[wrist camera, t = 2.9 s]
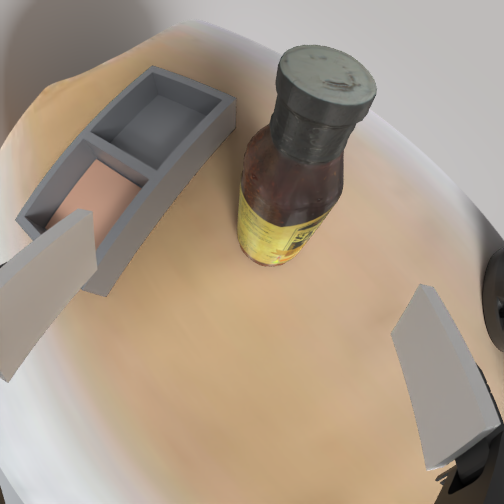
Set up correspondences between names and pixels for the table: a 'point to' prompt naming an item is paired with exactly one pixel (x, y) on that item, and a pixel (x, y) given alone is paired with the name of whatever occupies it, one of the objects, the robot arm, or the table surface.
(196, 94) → the slot caddy
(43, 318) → the robot arm
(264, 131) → the sauce bottle
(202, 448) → the table surface
